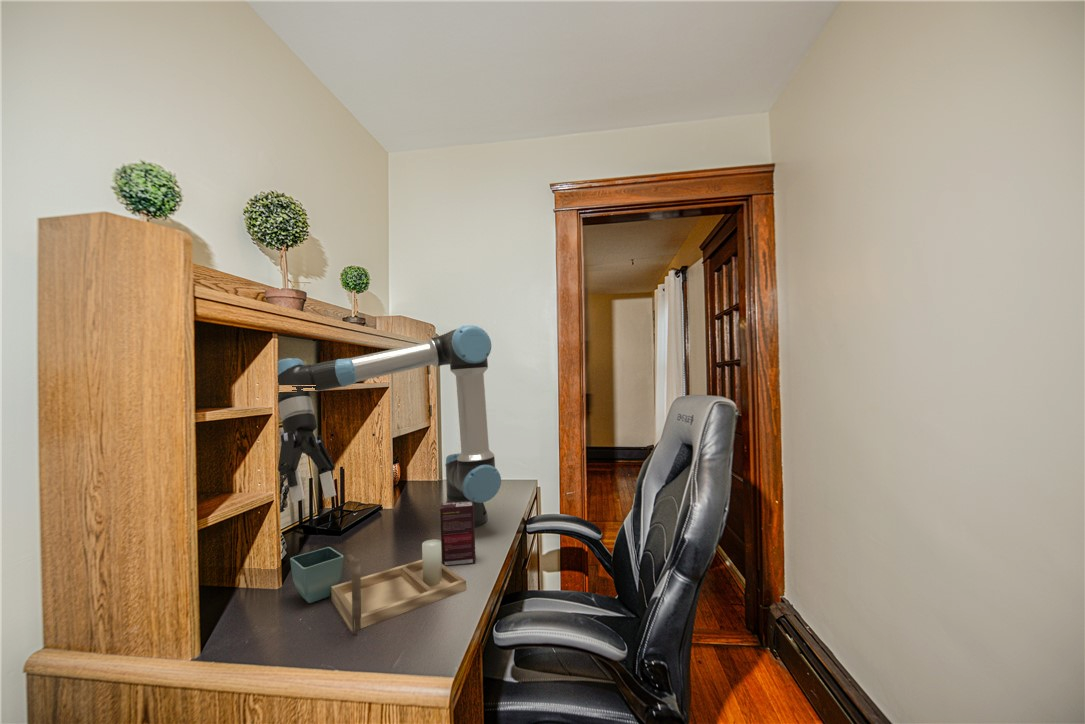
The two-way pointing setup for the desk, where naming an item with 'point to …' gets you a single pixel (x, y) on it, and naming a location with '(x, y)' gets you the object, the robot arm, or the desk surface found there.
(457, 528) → the supplement box
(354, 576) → the caddy
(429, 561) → the pillar candle
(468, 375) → the robot arm
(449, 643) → the desk surface
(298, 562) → the flower pot
